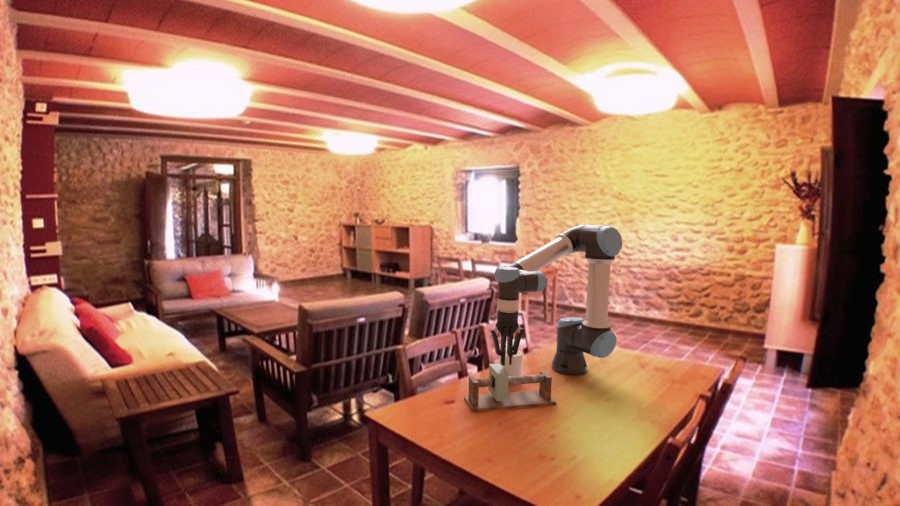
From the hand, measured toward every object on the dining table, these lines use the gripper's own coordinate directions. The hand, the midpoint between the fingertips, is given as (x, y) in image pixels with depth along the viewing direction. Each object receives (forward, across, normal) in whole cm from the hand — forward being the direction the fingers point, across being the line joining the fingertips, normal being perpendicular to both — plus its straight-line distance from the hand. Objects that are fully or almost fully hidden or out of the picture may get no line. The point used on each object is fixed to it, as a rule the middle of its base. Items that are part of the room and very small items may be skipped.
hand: (505, 373), depth 164 cm
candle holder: (+11, -9, -19) cm, 24 cm away
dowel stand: (+11, -2, 0) cm, 11 cm away
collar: (+8, +3, 0) cm, 9 cm away
